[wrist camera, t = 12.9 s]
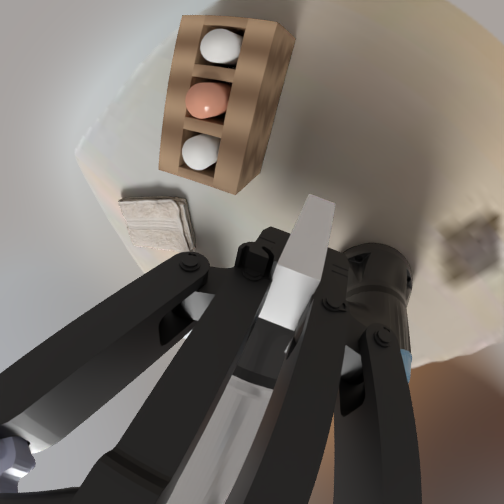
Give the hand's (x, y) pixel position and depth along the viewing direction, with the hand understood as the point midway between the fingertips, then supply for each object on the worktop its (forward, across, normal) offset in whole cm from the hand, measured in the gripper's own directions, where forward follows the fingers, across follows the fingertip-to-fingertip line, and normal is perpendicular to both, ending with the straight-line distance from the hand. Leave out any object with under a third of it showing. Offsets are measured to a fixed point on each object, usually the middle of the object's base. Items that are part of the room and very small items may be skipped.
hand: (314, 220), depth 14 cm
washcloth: (+27, +29, +25) cm, 47 cm away
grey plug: (+25, +16, -10) cm, 31 cm away
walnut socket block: (+26, +16, -2) cm, 31 cm away
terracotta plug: (+24, +16, -3) cm, 29 cm away
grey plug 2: (+25, +16, +4) cm, 30 cm away
